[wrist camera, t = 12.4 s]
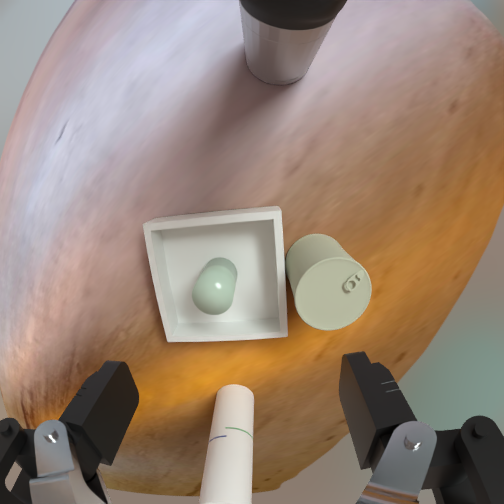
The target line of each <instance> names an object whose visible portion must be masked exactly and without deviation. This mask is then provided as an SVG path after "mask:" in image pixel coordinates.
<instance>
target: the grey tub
mask: <svg viewBox="0 0 504 504" xmlns="http://www.w3.org/2000/svg"><path fill="white" fill-rule="evenodd" d="M143 229H144V236H145V241H146V247H147V253H148V258H149V263H150V269H151V274H152V278H153V283H154V288H155V292H156V297H157V301H158V306H159V310H160V314H161V318H162V322H163V326H164V330H165V334H166V338H167V341H168V342H203V341H232V340H251V339H266V338H279V337H288V327H287V302H286V281H285V263H284V246H283V230H282V215H281V209H280V208H279V206H268V207H256V208H244V209H233V210H223V211H213V212H203V213H193V214H184V215H176V216H167V217H159V218H154V219H152V220H150V221H148V222H146V223H144V224H143ZM218 257H221V258H226V259H228V260H230V261H231V262H232V263H233V264H234V265H235V267H236V269H237V274H238V275H237V281H236V286H235V292H234V297H233V302H232V305H231V307H230V308H229V309H228V310H227V311H226V312H224V313H222V314H219V315H209V314H206V313H204V312H202V311H200V310H199V309H198V308H197V307H196V306H195V304H194V302H193V299H192V290H193V288H194V286H195V284H196V282H197V280H198V278H199V276H200V274H201V273H202V271H203V269H204V267H205V265H206V264H207V263H208V262H209V261H210V260H211V259H214V258H218Z"/></svg>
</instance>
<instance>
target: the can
mask: <svg viewBox="0 0 504 504" xmlns="http://www.w3.org/2000/svg"><path fill="white" fill-rule="evenodd" d="M285 271H286V274H287V277H288V279H289V281H290V284H291V288H292V291H293V295H294V300H295V307H296V310H297V312H298V314H299V316H300V317H301V318H302V320H303V321H304V322H305V323H307V324H308V325H310V326H311V327H314V328H316V329H320V330H337V329H340V328H343V327H346V326H348V325H350V324H351V323H353V322H354V321H355V320H357V319H358V318H359V317H360V316H361V315H362V313H363V312H364V311H365V309H366V307H367V305H368V303H369V300H370V297H371V281H370V278H369V275H368V273H367V272H366V270H365V269H364V268H363V267H362V266H361V265H360V264H359V263H358V262H356V261H355V260H354V259H353V258H352V257H351V256H350V255H349V254H348V253H346V252H345V251H344V250H343V249H342V247H341V246H340V244H339V243H338V242H337V241H336V240H335V239H333V238H331V237H330V236H327V235H324V234H311V235H307V236H304V237H302V238H301V239H299V240H298V241H296V242H295V243H294V244H293V245H292V247H291V248H290V250H289V251H288V253H287V256H286V260H285Z"/></svg>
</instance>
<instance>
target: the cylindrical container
mask: <svg viewBox="0 0 504 504" xmlns="http://www.w3.org/2000/svg"><path fill="white" fill-rule="evenodd" d="M253 414H254V395H253V393H252V392H251V391H250V390H249V389H248V388H246V387H244V386H241V385H227V386H224V387H222V388H221V389H219V391H218V392H217V396H216V402H215V408H214V414H213V420H212V426H211V431H210V437H209V443H208V449H207V455H206V461H205V468H204V474H203V480H202V486H201V492H200V498H199V504H251V496H252V457H253Z"/></svg>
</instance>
